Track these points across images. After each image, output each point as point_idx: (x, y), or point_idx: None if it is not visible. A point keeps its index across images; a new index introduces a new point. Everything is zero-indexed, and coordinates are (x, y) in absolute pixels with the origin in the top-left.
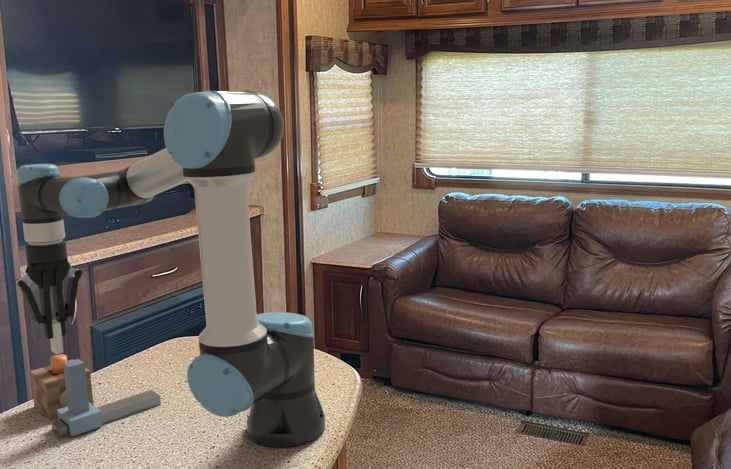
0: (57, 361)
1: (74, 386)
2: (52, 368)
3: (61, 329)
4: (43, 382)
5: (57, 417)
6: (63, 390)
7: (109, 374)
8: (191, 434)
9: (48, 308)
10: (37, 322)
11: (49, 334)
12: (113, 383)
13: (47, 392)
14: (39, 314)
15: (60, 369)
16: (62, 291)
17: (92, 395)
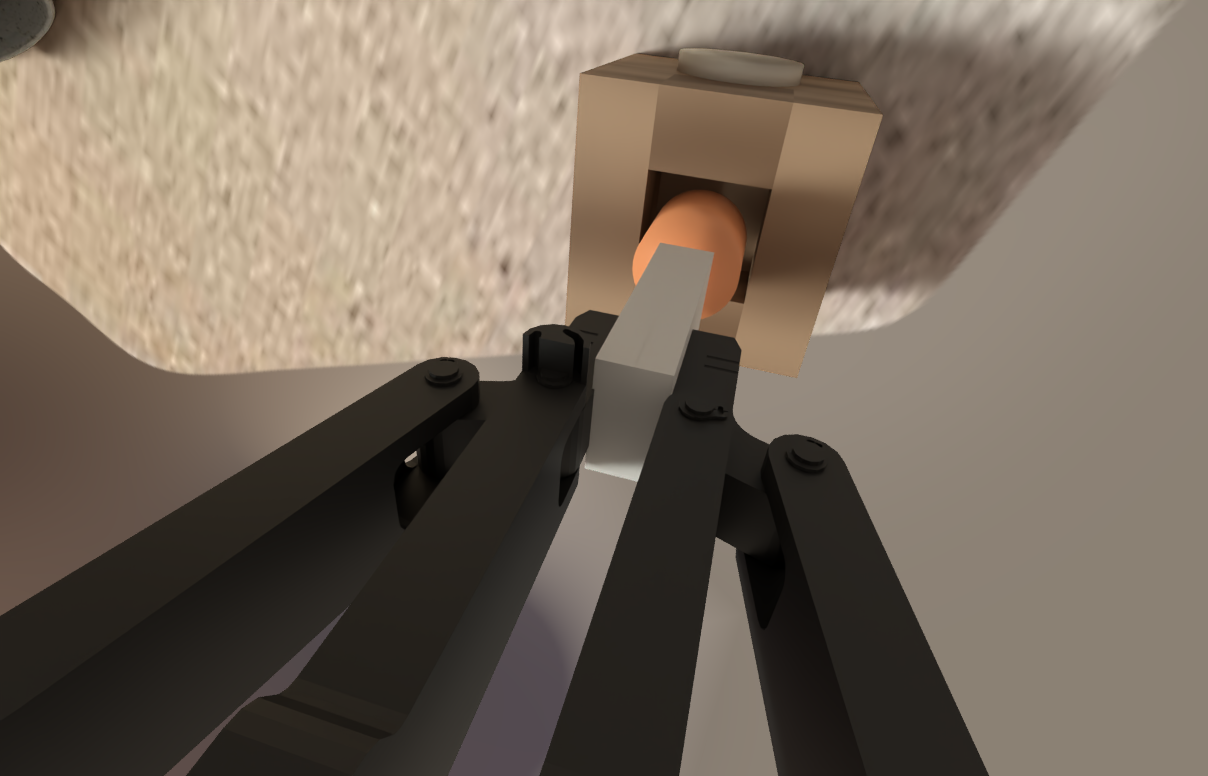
0: (719, 228)
1: None
2: (744, 248)
3: (600, 343)
4: (867, 158)
5: (819, 77)
6: (770, 87)
7: (444, 310)
8: None
9: (665, 525)
10: (839, 457)
11: (717, 356)
12: (466, 218)
13: (870, 104)
14: (807, 516)
15: (715, 203)
16: (314, 654)
17: (622, 59)
